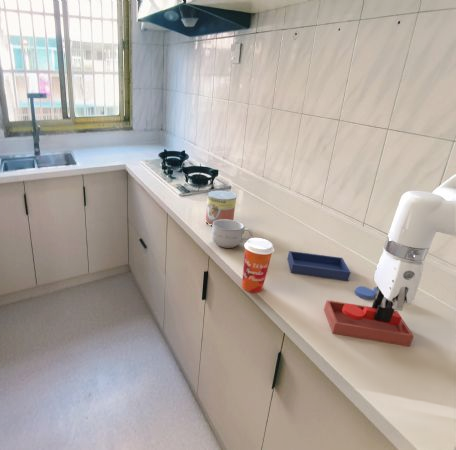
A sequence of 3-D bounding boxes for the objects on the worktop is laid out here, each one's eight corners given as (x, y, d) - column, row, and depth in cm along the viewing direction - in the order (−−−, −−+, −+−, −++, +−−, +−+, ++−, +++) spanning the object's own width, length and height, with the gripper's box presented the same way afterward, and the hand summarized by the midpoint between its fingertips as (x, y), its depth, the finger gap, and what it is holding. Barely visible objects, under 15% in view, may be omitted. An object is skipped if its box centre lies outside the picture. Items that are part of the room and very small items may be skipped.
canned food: (199, 221, 139) (202, 193, 134) (216, 215, 146) (219, 188, 141) (221, 230, 131) (225, 201, 126) (238, 223, 138) (242, 195, 133)
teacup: (205, 245, 119) (207, 224, 116) (218, 234, 127) (220, 215, 124) (242, 257, 112) (246, 235, 109) (254, 245, 120) (257, 225, 117)
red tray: (393, 320, 84) (397, 310, 83) (409, 346, 76) (414, 336, 75) (323, 309, 87) (326, 300, 86) (332, 333, 79) (335, 323, 78)
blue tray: (340, 265, 109) (342, 257, 108) (348, 281, 100) (350, 272, 99) (287, 258, 112) (289, 250, 111) (290, 273, 104) (292, 264, 102)
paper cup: (236, 291, 94) (243, 246, 88) (240, 277, 100) (247, 234, 95) (265, 298, 91) (274, 252, 86) (267, 283, 98) (276, 240, 92)
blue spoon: (399, 295, 94) (402, 288, 93) (407, 305, 90) (410, 298, 89) (352, 288, 97) (355, 281, 96) (357, 298, 93) (360, 290, 92)
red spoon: (392, 317, 82) (396, 309, 81) (400, 330, 77) (404, 322, 76) (339, 305, 84) (343, 298, 83) (344, 317, 79) (348, 309, 78)
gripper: (445, 269, 65) (412, 343, 72) (408, 235, 79) (384, 300, 86) (401, 263, 66) (373, 337, 74) (373, 231, 80) (352, 295, 88)
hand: (379, 316), depth 80 cm, fingers closed on red spoon, 1 cm apart
